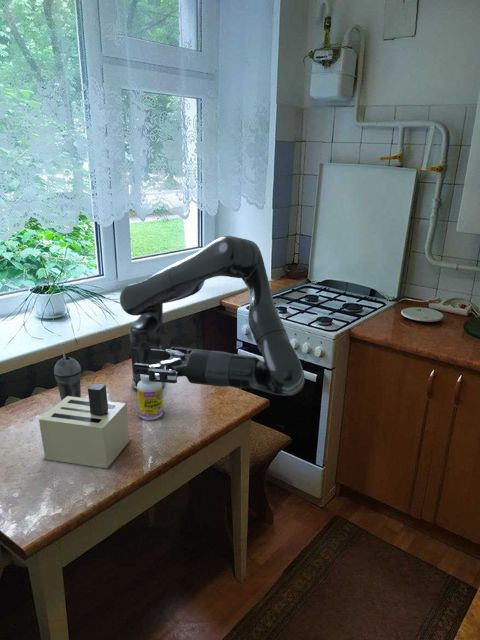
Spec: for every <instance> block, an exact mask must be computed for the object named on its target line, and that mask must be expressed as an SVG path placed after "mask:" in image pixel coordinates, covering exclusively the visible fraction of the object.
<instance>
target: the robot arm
mask: <svg viewBox="0 0 480 640" xmlns="http://www.w3.org/2000/svg"><path fill="white" fill-rule="evenodd" d="M217 277H228V278H233V279H234V278H235V279H242V282H243V283H244V285H245V286H246V288H247V290H248V294H249V307H248V313H247V314H248V315H247V317H248V318H247V319H248V325H249V329H250V332H251V334H252V337H253V340H254V342H255V344H256V346H257V349H258V350H259V353H260V354H261V355H262V358H263V360H261V359H260V358H258V357H256V356H254V355H245V354H236V353H231V352H226V351H218V350H208V349H199V348H190V347H183V346H176V345H174V346H171V348H166V349H162V327H163V320H164V319H163V316H164V315H163V313H164V311H163V310H164V307H163V306H164V304H169V303H172V302H177V301H180V300H184V299H187V298H189V297H191V296H194V295H195V294H197V293H199V292H200V291H201V290H202V288H203V286H204V284H205V281H206V280H209V279H212V278H217ZM119 304H120V307H121V309H122V310H123V311H124V312H125V313H126V314H127V315H130V316H135V317H137V316H139V317H138V318H137V319H136V320H135V321H134V322H132V323H131V324H130V325H129V328H128V331H129V344H130V357H131V371H132V378H131V383H132V387H133V389H134V390H135V391H137V384H138V382H139V381H141V378H140V374H142V375H149V381H151V382H161V383H162V388H163V387H164V385H165V384H177V383H178V378H179V377H185V378H186V380H187V381H188V382H189V383H190V384H195V385H203V386H211V387H220V388H221V387H224V388H225V387H232V388H240V389H251V390H256V391H259V392H264V393H268V394H272V395H276V396H283V397H290V396H295V395H297V394H299V393H300V392H301V391H302V390H303V388H304V386H305V383H306V379H305V378H306V377H305V372H304V367H303V365H302V362H301V360H300V358H299V356H298V354H297V352H296V350H295V349H294V347H293V345H292V343H291V341H290V338H289V335H288V332H287V330H286V328H285V326H284V323H283V321H282V319H281V317H280V314H279V311H278V309H277V307H276V304H275V301H274V297H273V294H272V289H271V286H270V281H269V277H268V273H267V268H266V266H265V262H264V257H263V254H262V251H261V250H260V247H259V246H258V244H257V243H256V242H254V241H253V240H250V239H246V238H242V237H237V236H233V235H223V236H219V237H218V238H216V239H214V240H213V241H212V242H210V243H209V244H208V245H205V247H203V248H202V249H201V250H199V251H198V252H196V253H194V254H192V255H189V256H188V257H186V258H183V259H181V260H179V261H177V262H175V263H173V264H171V265H169V266H167V267H165V268H163V269H162V270H160V271H158V272H156V273H154V274H153V275H151V276H150V277H147V278H146V279H145V280H142V281H139V282H135V283H131V284H128V285H126V286H124V288H123V289H122V290H121V292H120V294H119Z"/></svg>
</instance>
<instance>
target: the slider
mask: <svg viewBox="0 0 480 640" xmlns="http://www.w3.org/2000/svg"><path fill="white" fill-rule="evenodd" d="M87 394H88V399H89V405H90V414H91V415H99V416H103V415H104V414H105V413H106V412H107V411H108V403H107V401H108V395H107V394H108V393H107V385H106V384H104V383H96V382H95V383H94V382H93V384H91V385H90V386H89V387H88V388H87Z"/></svg>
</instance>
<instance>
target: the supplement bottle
mask: <svg viewBox="0 0 480 640" xmlns="http://www.w3.org/2000/svg"><path fill="white" fill-rule="evenodd" d="M140 378H141V381H139V382H138V384H137V390H136V391H137V406H138V407H137V408H138V409H137V410H138V416H139V417H140V418H141V419H143V420H147V421H154V420H156V419H159V418H161V417H162V415H163V413H164V407H163V402H164V401H163V387H162V383H161V382H151V381H149V375H142V374H140Z"/></svg>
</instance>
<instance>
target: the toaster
mask: <svg viewBox="0 0 480 640" xmlns="http://www.w3.org/2000/svg"><path fill="white" fill-rule="evenodd" d="M107 403H108V411H107V412H106V413H105V414H104V415H103V416H99V415H91V414H90V405H89V398H87V397H86V398H85V397H81V398H79V397H71V396H67V397H65V398H64V399H63V400H62V401H59V402H58V403H57V404H55V405H54V406H53V407H52V408H50V410H48V411H47V412H46V413H44V414H43V415H42V416H40V418H39V419H38V424H39V429H40V435H41V442H42V449H43V454H44V455H43V456H44V459H45V460H47V461H55V462H61V463H67V464H75V465H80V466H87V467H88V466H89V467H94V468H102V469H108V468H109V467H110V466H111V465H112V463H114V461H115V460H116V459H117V457H119V455H120V454H121V452H122V451H123V450H124V449H125V447H126V446H127V445H128V444H129V443H130V434H129V421H128V419H129V418H128V408H127V403H126V402H117V401H110V400H107Z"/></svg>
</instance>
